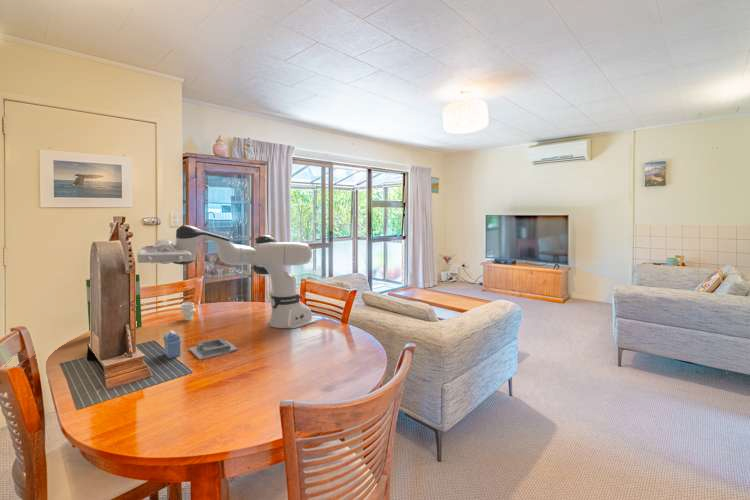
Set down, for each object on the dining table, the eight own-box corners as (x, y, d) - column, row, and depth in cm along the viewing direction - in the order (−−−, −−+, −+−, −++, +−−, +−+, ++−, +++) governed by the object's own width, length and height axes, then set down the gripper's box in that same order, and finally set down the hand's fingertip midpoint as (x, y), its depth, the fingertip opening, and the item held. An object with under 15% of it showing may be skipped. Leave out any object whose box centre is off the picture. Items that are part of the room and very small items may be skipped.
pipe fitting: (188, 322, 177) (188, 305, 176) (177, 320, 179) (176, 304, 179) (199, 318, 183) (198, 302, 182) (188, 316, 185) (187, 301, 184)
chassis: (226, 342, 151) (226, 336, 151) (237, 350, 142) (237, 344, 142) (189, 350, 142) (189, 343, 141) (198, 359, 133) (198, 353, 132)
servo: (175, 350, 141) (174, 327, 141) (181, 356, 135) (180, 332, 134) (163, 352, 139) (162, 329, 138) (169, 359, 133) (168, 335, 132)
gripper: (190, 259, 171) (193, 267, 160) (138, 261, 161) (137, 269, 149) (190, 246, 170) (193, 252, 158) (137, 246, 160) (136, 254, 148)
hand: (165, 260), depth 154 cm, fingers open, 8 cm apart
